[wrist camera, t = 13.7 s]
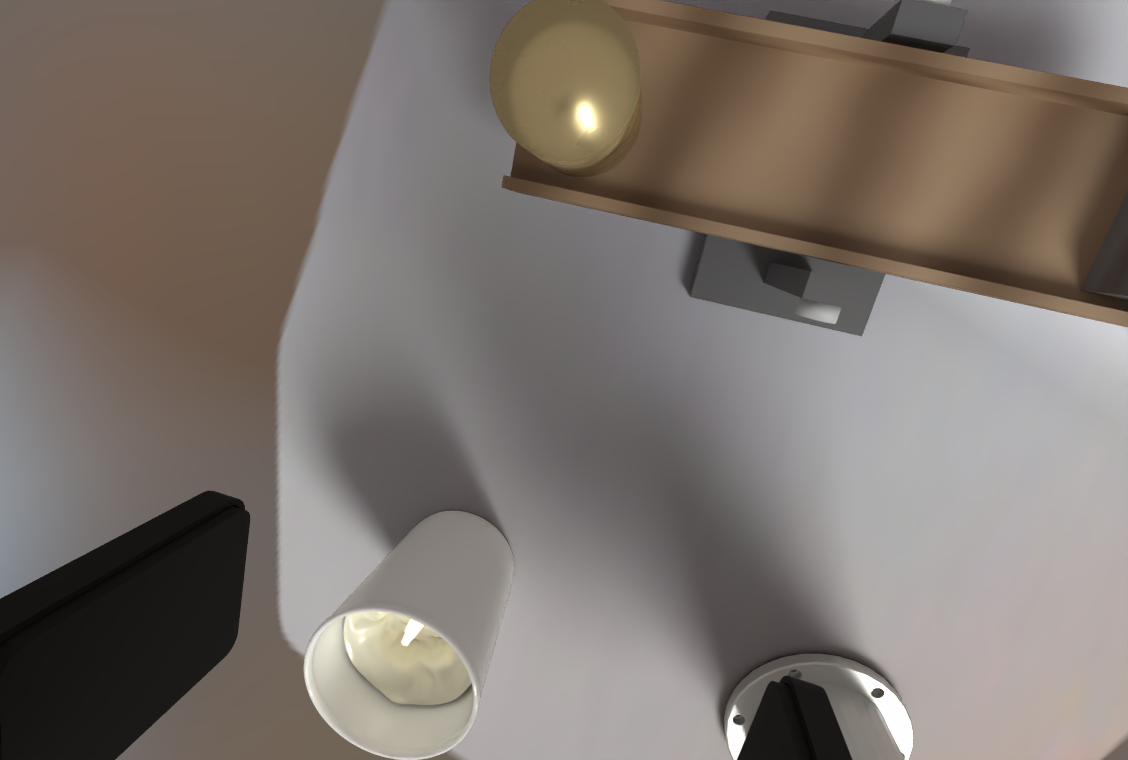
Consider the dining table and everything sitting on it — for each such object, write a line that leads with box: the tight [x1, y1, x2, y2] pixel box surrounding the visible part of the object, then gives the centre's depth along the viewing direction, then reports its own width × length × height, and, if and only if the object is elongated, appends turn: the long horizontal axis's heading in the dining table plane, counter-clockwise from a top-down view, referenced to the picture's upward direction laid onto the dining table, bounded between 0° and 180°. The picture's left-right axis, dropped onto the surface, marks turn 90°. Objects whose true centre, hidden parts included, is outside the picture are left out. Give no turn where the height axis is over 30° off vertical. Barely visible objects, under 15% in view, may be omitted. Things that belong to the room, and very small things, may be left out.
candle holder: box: [304, 511, 514, 760], centre depth 35 cm, size 10×10×12 cm
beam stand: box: [689, 0, 970, 336], centre depth 27 cm, size 10×15×9 cm, turn 168°
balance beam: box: [502, 0, 1128, 327], centre depth 22 cm, size 30×8×4 cm, turn 78°
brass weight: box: [490, 0, 642, 177], centre depth 21 cm, size 5×5×6 cm
